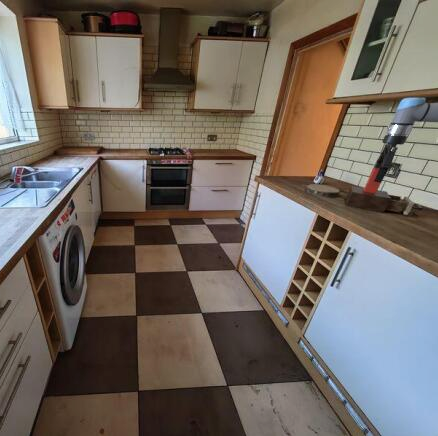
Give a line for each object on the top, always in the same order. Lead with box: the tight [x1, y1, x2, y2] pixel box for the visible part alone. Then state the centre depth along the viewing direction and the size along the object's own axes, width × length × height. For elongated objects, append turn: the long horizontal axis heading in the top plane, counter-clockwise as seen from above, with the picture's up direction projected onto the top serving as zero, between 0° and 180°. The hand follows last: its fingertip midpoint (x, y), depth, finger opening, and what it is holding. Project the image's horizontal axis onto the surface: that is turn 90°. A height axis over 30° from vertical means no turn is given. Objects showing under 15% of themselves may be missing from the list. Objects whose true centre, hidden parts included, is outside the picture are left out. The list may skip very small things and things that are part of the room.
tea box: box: [363, 167, 382, 194], centre depth 116 cm, size 4×4×12 cm
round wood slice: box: [306, 183, 340, 198], centre depth 138 cm, size 16×16×3 cm
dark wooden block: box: [345, 185, 391, 213], centre depth 120 cm, size 15×14×8 cm
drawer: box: [385, 194, 424, 216], centre depth 114 cm, size 18×12×6 cm
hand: (375, 179), depth 115 cm, fingers open, 13 cm apart
